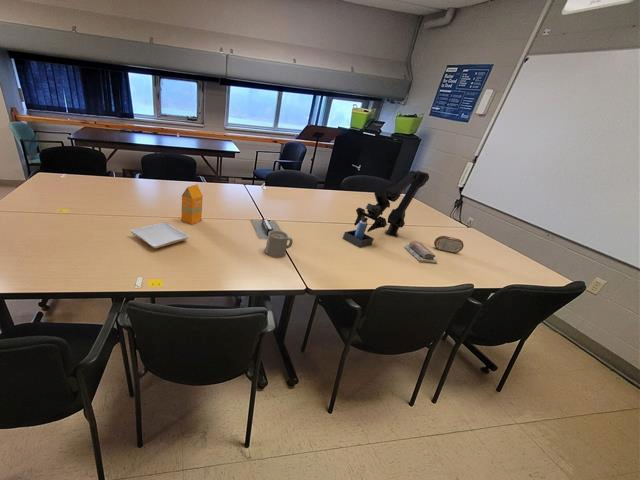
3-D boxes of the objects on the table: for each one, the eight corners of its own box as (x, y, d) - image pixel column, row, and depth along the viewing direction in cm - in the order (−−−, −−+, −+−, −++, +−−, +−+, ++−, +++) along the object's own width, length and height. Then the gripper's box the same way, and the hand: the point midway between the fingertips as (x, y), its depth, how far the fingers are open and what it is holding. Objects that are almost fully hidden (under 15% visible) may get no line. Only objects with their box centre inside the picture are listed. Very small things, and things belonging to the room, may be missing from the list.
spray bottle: (356, 238, 186) (364, 215, 179) (363, 241, 183) (371, 219, 176) (351, 239, 184) (358, 216, 176) (357, 242, 181) (365, 219, 173)
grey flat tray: (259, 238, 172) (260, 231, 170) (251, 220, 192) (252, 213, 190) (284, 239, 175) (286, 232, 172) (274, 221, 195) (275, 215, 193)
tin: (458, 252, 187) (465, 240, 182) (459, 255, 184) (467, 242, 180) (431, 246, 190) (437, 233, 186) (432, 248, 188) (438, 235, 183)
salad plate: (190, 241, 158) (190, 235, 157) (154, 252, 145) (154, 246, 143) (165, 227, 170) (165, 221, 168) (129, 236, 156) (129, 229, 154)
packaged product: (407, 239, 182) (423, 241, 183) (404, 247, 185) (420, 248, 185) (423, 254, 167) (441, 255, 168) (419, 262, 169) (436, 263, 170)
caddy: (354, 235, 191) (356, 229, 189) (371, 244, 182) (373, 238, 180) (342, 238, 185) (344, 231, 183) (359, 247, 177) (362, 240, 175)
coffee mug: (267, 256, 154) (270, 238, 149) (263, 247, 162) (266, 229, 157) (293, 258, 156) (297, 239, 151) (288, 249, 165) (292, 231, 159)
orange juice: (201, 220, 184) (203, 186, 173) (191, 224, 177) (192, 188, 166) (191, 216, 187) (192, 182, 176) (181, 220, 180) (181, 185, 169)
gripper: (363, 193, 179) (344, 213, 179) (391, 204, 167) (371, 226, 167) (367, 205, 187) (349, 225, 188) (394, 217, 175) (375, 238, 175)
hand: (360, 228), depth 179 cm, fingers open, 9 cm apart
